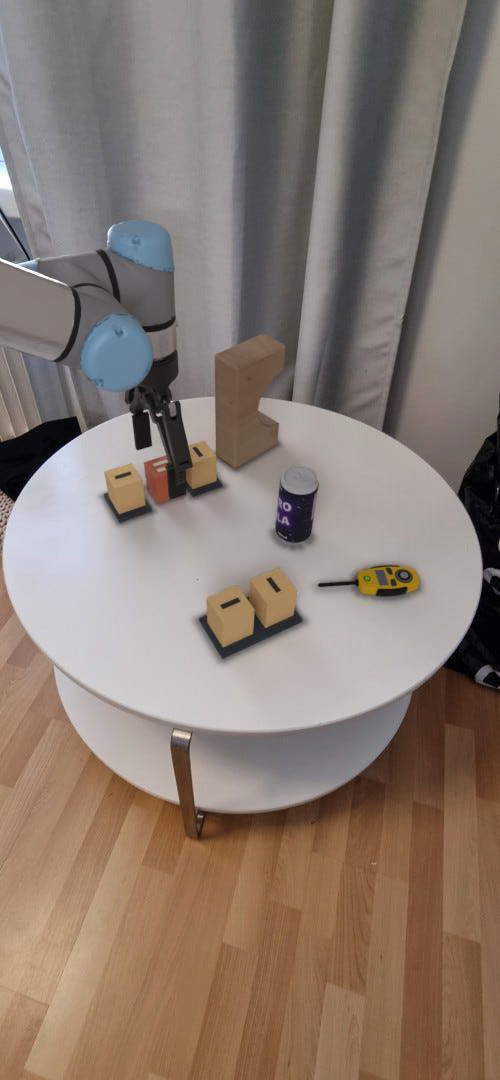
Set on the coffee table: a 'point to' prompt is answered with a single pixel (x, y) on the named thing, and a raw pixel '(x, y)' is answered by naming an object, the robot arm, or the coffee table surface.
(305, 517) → the beverage can
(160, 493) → the pause symbol cube
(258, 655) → the coffee table surface
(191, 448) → the tan cubes
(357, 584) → the yellow walkie talkie
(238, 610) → the tan boxes on tray
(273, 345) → the decorative block
